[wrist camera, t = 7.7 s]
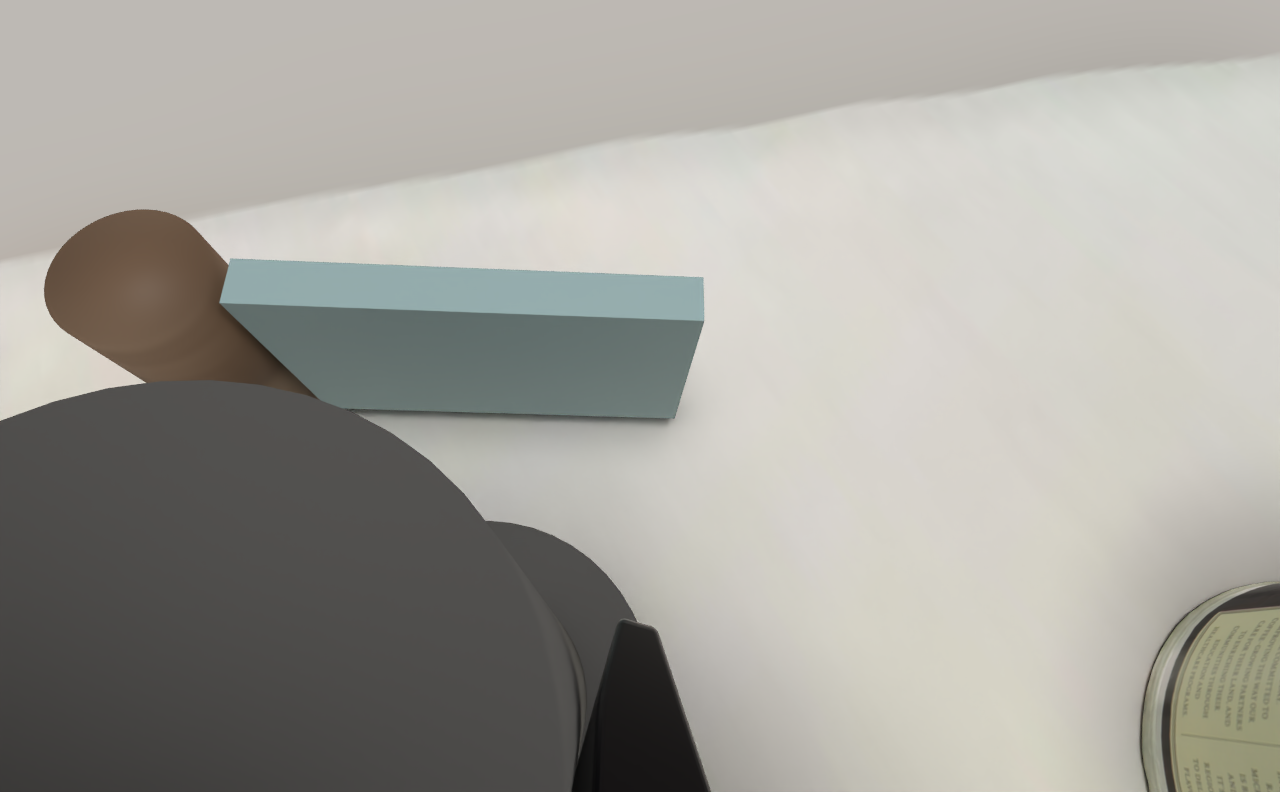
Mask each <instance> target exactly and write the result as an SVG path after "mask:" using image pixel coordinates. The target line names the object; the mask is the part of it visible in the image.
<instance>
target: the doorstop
mask: <svg viewBox="0 0 1280 792" xmlns="http://www.w3.org/2000/svg"><path fill="white" fill-rule="evenodd" d="M620 619H628V620H632V621H635V622H637V621H636V619H635V616H634V614H633V612H632V610H631V608H630V607H629V605H628V604H627V602H626V600H625V599H624V597H623V596H622V594H621V592H620V591H619V590H618V588H617V587H616V586H615V585H614V583H613V582H612V581H611V580H610V578H609V577H608V576H607V575H606V574H605V573H604V572H603V571H602V570H601V569H600V568H599V567H598V566H597V565H596V564H595V563H594V562H593V561H592V560H591V559H589V558H588V557H587V556H585V555H584V554H583V553H581V552H580V551H578V550H577V549H576V548H574V547H573V546H571V545H570V544H568V543H566V542H564V541H562V540H560V539H558V538H556V537H554V536H553V535H550V534H547V533H545V532H542V531H539V530H536V529H534V528H531V527H526V526H522V525H517V524H513V523H505V522H494V521H485V520H484V519H483V517H482V516H481V515H480V514H479V512H478V511H477V510H476V508H475V507H474V506H473V505H472V503H471V502H470V501H469V500H468V498H467V497H466V496H465V494H464V493H463V492H462V491H461V490H460V489H459V488H458V487H457V486H455V485H454V484H453V483H452V482H451V481H450V480H449V479H448V478H447V477H446V476H445V475H444V474H443V473H442V472H441V471H440V470H439V469H438V468H437V467H436V466H435V465H434V464H433V463H432V462H431V461H430V460H428V459H427V458H425V457H424V456H423V455H421V454H420V453H418V452H417V451H416V450H414V449H413V448H412V447H410V446H409V445H407V444H406V443H405V442H403V441H402V440H400V439H399V438H398V437H396V436H395V435H393V434H392V433H390V432H389V431H387V430H385V429H383V428H381V427H379V426H377V425H375V424H373V423H372V422H370V421H368V420H366V419H364V418H362V417H360V416H358V415H356V414H354V413H353V412H351V411H348V410H345V409H343V408H340V407H337V406H334V405H332V404H329V403H326V402H323V401H321V400H318V399H315V398H312V397H310V396H307V395H303V394H299V393H294V392H290V391H285V390H281V389H276V388H272V387H267V386H263V385H257V384H247V383H236V382H225V381H215V380H193V381H158V382H151V383H144V384H136V385H129V386H122V387H115V388H107V389H103V390H99V391H95V392H91V393H87V394H83V395H79V396H75V397H71V398H67V399H63V400H59V401H55V402H52V403H49V404H46V405H43V406H41V407H38V408H35V409H32V410H29V411H27V412H24V413H21V414H18V415H16V416H13V417H10V418H7V419H4V420H2V421H0V792H572V786H573V781H574V776H575V771H576V767H577V764H578V760H579V756H580V753H581V749H582V746H583V742H584V738H585V735H586V731H587V727H588V724H589V720H590V717H591V713H592V709H593V706H594V702H595V699H596V695H597V691H598V688H599V684H600V681H601V677H602V674H603V670H604V667H605V663H606V660H607V656H608V653H609V650H610V646H611V643H612V639H613V636H614V632H615V629H616V625H617V623H618V621H619V620H620Z"/></svg>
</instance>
